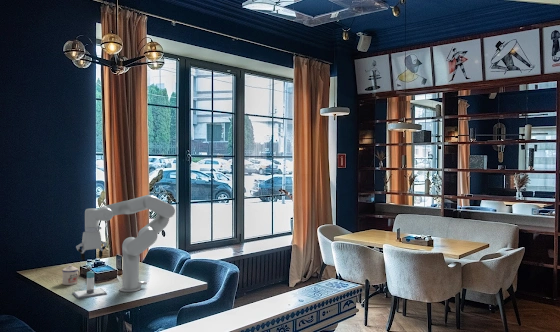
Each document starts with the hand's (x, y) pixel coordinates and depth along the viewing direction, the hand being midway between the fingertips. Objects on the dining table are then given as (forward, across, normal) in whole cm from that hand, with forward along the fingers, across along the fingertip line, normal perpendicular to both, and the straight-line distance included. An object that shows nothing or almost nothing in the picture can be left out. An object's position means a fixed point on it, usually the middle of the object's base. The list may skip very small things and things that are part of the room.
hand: (91, 258), depth 272 cm
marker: (+20, +1, +1) cm, 20 cm away
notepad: (+21, +1, 0) cm, 21 cm away
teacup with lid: (+21, +4, -30) cm, 37 cm away
